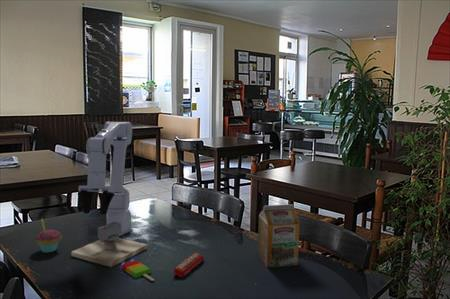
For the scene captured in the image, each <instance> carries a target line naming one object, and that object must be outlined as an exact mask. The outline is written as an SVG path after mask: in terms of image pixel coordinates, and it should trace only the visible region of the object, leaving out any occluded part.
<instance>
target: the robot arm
mask: <svg viewBox="0 0 450 299" xmlns="http://www.w3.org/2000/svg"><path fill="white" fill-rule="evenodd" d="M132 137H133V124H132V122H130V121H109V120H108V121H106V122H105V123H104V126H103V128H102V129H101V130H100V131H99V132H98V133H97V134H96V135H95V136H94V137H89V138H88V139H87V140H86V145H85V149H86V156H87V157H86V158H87V160H88V161H87V184H86V185H78V192H77V196H78V197H79V200H80V203H81V205H82V211H83V214H90V213H91V209H92V202H93V196H94V194H95V192H97V195H98V200H99V214H100V215H106V225H107V224H110V223H112V222H118V223H121V233H120V234H119V237H120V236H122V235H125V234H127V233H129V232H131V231H133V230H134V228H132V213H131V211H130V210H129V207H130V202H131V201H130V191H129V190H128V188H126V187H125V186H124V176H125V166H126V154H127V148H128V146H129V145H131V144H132ZM111 145H112V147H113V154H112V155H113V156H112V166H111V176H110V185H106V173H107V172H106V170H107V155H108V154H109V152H110V148H111Z"/></svg>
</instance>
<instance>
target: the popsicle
mask: <svg viewBox="0 0 450 299" xmlns="http://www.w3.org/2000/svg"><path fill="white" fill-rule="evenodd" d="M121 269H122V270H123V271H124V272H126V273H128V274H129V275H130V276H131V277H133V278H135V279H137V278H141V277H142V276H143V277H144V278H146V279H147V280H149V281H150V282H154V281H155V279H154V278H153V277H151V276H150V275H149V274H151V273H152V269H151V268H149V266H146V265H145V264H143V263H141V262H140V261H138V260H131V261H127V262H124V263H122V265H121Z"/></svg>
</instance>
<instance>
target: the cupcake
mask: <svg viewBox="0 0 450 299" xmlns="http://www.w3.org/2000/svg"><path fill="white" fill-rule="evenodd" d="M40 221H41V225H42V231H41V232H38V233H37V234H36V236H35V238H34V240H35V243H37V244H38V246H39V248H40V251H41V252H42V253H52V252H53V253H54V252H55V251H56V250H57V248H58V244H59V242H60V241H62V239H63V236H62V233H61V232H60V231H59V230H57V229H48V228H47V229H46V226H45V221H44V219H43V218H42V217H41V220H40Z"/></svg>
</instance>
